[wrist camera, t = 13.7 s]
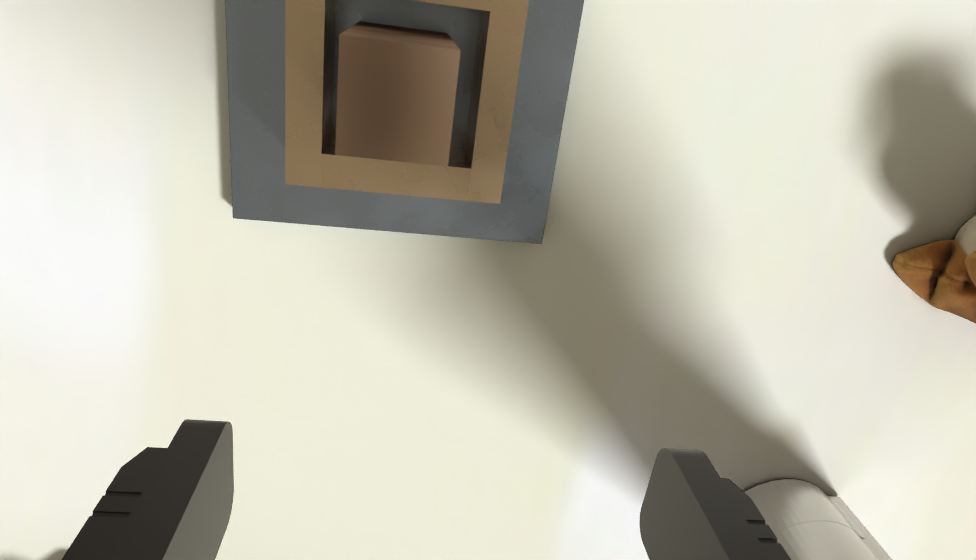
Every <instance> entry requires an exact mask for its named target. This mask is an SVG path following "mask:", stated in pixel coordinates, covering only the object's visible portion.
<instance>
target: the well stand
mask: <svg viewBox="0 0 976 560" xmlns="http://www.w3.org/2000/svg"><path fill="white" fill-rule="evenodd" d="M583 3H584V0H225V6H226V35H227V64H228V92H229V121H230V149H231V178H232V206H233V218H237V219H249V220H261V221H273V222H285V223H297V224H309V225H321V226H333V227H345V228H357V229H369V230H381V231H393V232H405V233H417V234H429V235H441V236H453V237H465V238H477V239H489V240H501V241H513V242H526V243H538V244H542V238H543V233H544V227H545V221H546V215H547V210H548V204H549V198H550V192H551V187H552V181H553V175H554V169H555V164H556V158H557V152H558V147H559V141H560V135H561V129H562V124H563V118H564V112H565V106H566V101H567V95H568V89H569V84H570V78H571V72H572V66H573V61H574V55H575V49H576V43H577V38H578V32H579V26H580V20H581V15H582V9H583ZM359 21H363V22H370V23H377V24H385V25H392V26H400V27H407V28H414V29H422V30H429V31H436V32H444V33H448V35H449V36H450V37H451V39H452V40H453V41H454V42H455V44H456V45H457V46H458V48H459V49H460V50H461V52H460V61H459V70H458V80H457V89H456V98H455V107H454V116H453V125H452V135H451V144H450V153H449V162H448V167H447V166H437V165H428V164H418V163H408V162H399V161H389V160H379V159H370V158H360V157H350V156H341V155H335V144H336V116H337V88H338V61H339V34H341V33H342V32H344V31H346V30H347V29H349V28H350V27H352V26H353V25H355V24H356V23H358V22H359Z"/></svg>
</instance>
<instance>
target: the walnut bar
mask: <svg viewBox="0 0 976 560" xmlns="http://www.w3.org/2000/svg"><path fill="white" fill-rule="evenodd" d="M460 52H461V50H460V49H459V48H458V46H457V45H456V44H455V42H454V41H453V40H452V39H451V37H450V36H449V35H448V33H444V32H436V31H429V30H422V29H414V28H407V27H400V26H392V25H385V24H377V23H370V22H363V21H359V22H358V23H356V24H355V25H353V26H352V27H350V28H349V29H347V30H346V31H344V32H342V33H341V34H339V61H338V88H337V116H336V144H335V155H341V156H350V157H360V158H370V159H379V160H389V161H399V162H408V163H418V164H428V165H437V166H447V167H448V162H449V153H450V144H451V135H452V125H453V116H454V107H455V98H456V89H457V80H458V70H459V61H460Z"/></svg>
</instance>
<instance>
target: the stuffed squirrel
mask: <svg viewBox="0 0 976 560" xmlns="http://www.w3.org/2000/svg"><path fill="white" fill-rule="evenodd" d="M892 264H893V268H894V270H895V272H896V273H897V275H898V276H899V278H900V279H901V280H902V281H903V282H904V283H905V284H906V285H907V286H908V287H909V288H911V289H912V290H913V291H914V292H915V293H916V294H917V295H919V296H920V297H921V298H923V299H924V300H925V301H927V302H928V303H929V304H931V305H932V306H934V307H936V308H938V309H941V310H944V311H948V312H951V313H953V314H956V315H958V316H960V317H963V318H965V319H968V320H970V321H972V322H974V323H976V215H975V216H974V217H972V218H971V219H970V220H968V221H967V222H966V223H965V224H964V225H963V226H962V227H961V228H960V230H959V231H958V233H957V235H956V237H955V240H942V241H937V242H933V243H929V244H926V245H922V246H919V247H916V248H913V249H910V250H907V251H905V252H902V253H899V254H897V255H896V256H895V259H894V261H893V263H892Z"/></svg>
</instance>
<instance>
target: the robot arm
mask: <svg viewBox="0 0 976 560" xmlns="http://www.w3.org/2000/svg"><path fill="white" fill-rule="evenodd" d="M233 492H234V481H233V432H232V425H231V423H230V422H223V421H206V420H188V419H187V420H184V421H183V423H182V424H181V426H180V427H179V429H178V431H177V433H176V434H175V436H174V438H173V440H172V441H171V443H170V445H169V447H168V448H152V447H147V448H146V449H145V450H143V451H142V452H141V453H139V454H138V455H137V456H135V457H134V458H133V459H131V460H130V461H129V462H127V463H126V464H125V465H124V466H122V467H121V469H120V470H119V472H118V473H117V475H116V476H115V478H114V479H113V481H112V482H111V484H110V486H109V487H108V489H107V490H106V494H105V496H102V498H101V500H100V501H99V503H98V504H97V506H96V507H95V509H94V510H93V515H92V516H90V517H89V518H88V520H87V521H86V523H85V524H84V526H83V527H82V529H81V530H80V532H79V534H78V535H77V537H76V538H75V540H74V541H73V543H72V544H71V546H70V548H69V549H68V551H67V552H66V554H65V555H64V557H63V558H62V560H215V558H216V555H217V553H218V550H219V547H220V545H221V542H222V539H223V536H224V534H225V531H226V528H227V525H228V522H229V518H230V514H231V509H232V503H233ZM640 532H641V537H642V541H643V544H644V547H645V549H646V552H647V554H648V557H649V559H650V560H892V559H891V558H890V556H889V555H888V554H887V553H886V552H885V551H884V549H883V548H882V547H881V546H880V545H879V543H878V542H877V541H876V540H875V539H874V537H873V536H872V535H871V534H870V533H869V531H868V530H867V529H866V528H865V527H864V525H863V524H862V523H861V522H860V521H859V519H858V518H857V517H856V516H855V515H854V514H853V512H852V511H851V510H850V509H849V508H848V506H847V505H846V504H845V503H844V502H843V500H842V499H841V498H840V497H832V496H828V495H826V494H825V493H824V492H823V491H822V490H821V489H819V488H818V487H817V486H815V485H813V484H811V483H809V482H805V481H801V480H794V479H782V480H775V481H770V482H767V483H763V484H760V485H757V486H755V487H753V488H751V489H749V490H747V491H745V492H743V491H742V490H741V489H740V488H739V487H737V486H736V485H735V484H734V483H733V482H732V481H731V480H729V479H726V478H720V477H719V475H718V473H717V472H716V470H715V469H714V467H713V465H712V464H711V462H710V461H709V459H708V457H707V456H706V454H705V453H704V452H702V451H700V450H685V449H667V448H664V449H662V450H660V452H659V453H658V455H657V458H656V461H655V464H654V468H653V471H652V474H651V478H650V481H649V484H648V487H647V491H646V494H645V497H644V501H643V504H642V507H641V512H640Z"/></svg>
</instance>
